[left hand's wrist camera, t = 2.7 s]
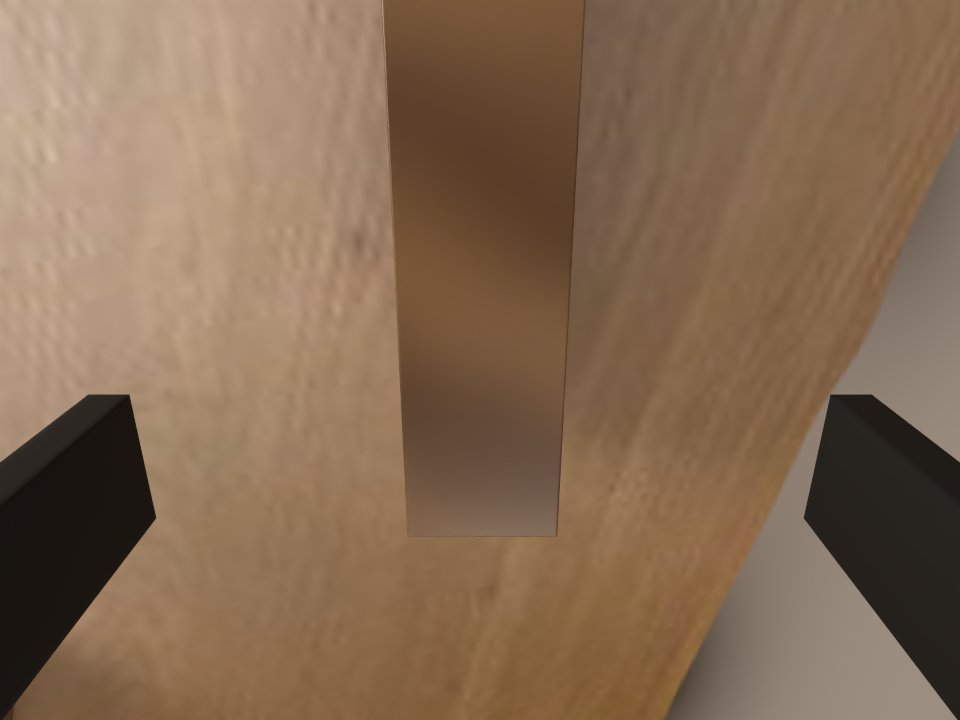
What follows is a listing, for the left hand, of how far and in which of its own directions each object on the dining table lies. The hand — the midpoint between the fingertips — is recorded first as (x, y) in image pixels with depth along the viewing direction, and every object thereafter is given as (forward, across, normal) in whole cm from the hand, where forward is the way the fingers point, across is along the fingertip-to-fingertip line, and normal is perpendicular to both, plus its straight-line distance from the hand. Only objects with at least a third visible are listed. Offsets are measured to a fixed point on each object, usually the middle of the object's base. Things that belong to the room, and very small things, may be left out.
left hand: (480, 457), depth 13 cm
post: (+14, 0, -30) cm, 33 cm away
